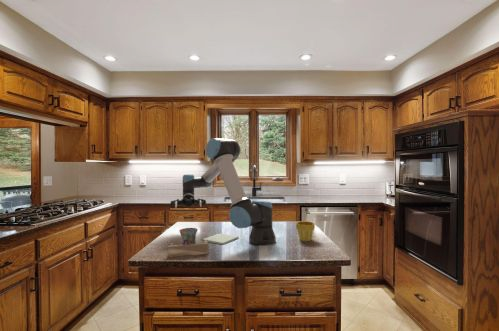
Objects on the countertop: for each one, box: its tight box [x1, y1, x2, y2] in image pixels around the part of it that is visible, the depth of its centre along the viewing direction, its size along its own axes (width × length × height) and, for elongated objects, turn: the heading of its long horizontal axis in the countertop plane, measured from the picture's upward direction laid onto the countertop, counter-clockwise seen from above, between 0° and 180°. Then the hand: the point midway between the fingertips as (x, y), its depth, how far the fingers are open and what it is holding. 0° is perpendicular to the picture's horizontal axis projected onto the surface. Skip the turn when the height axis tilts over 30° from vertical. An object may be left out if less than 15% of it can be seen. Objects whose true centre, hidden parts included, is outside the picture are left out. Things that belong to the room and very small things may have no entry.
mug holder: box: [167, 241, 210, 258], centre depth 144 cm, size 18×19×5 cm
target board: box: [202, 233, 240, 246], centre depth 162 cm, size 15×15×1 cm
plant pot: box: [295, 220, 315, 242], centre depth 159 cm, size 10×10×10 cm
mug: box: [179, 227, 198, 245], centre depth 144 cm, size 12×9×11 cm
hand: (188, 204), depth 154 cm, fingers open, 13 cm apart
